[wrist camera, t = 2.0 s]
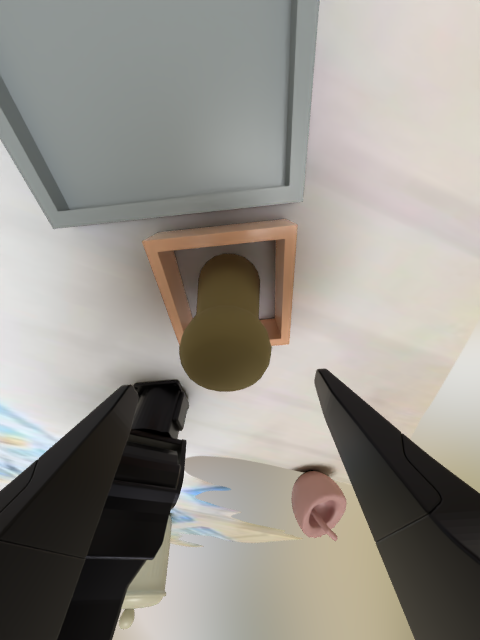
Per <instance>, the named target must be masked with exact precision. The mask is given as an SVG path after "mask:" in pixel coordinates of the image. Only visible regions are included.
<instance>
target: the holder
mask: <svg viewBox="0 0 480 640" xmlns="http://www.w3.org/2000/svg"><path fill="white" fill-rule="evenodd" d="M297 226H298V225H297V224H295V223H293V222H291V221H289V220H287V219H278V220H269V221H259V222H250V223H241V224H231V225H222V226H212V227H203V228H194V229H184V230H175V231H166V232H158V233H156V234H155V235H153V236H151V237H149V238H147V239H145V240H143V241H142V243H143V246H144V249H145V251H146V254H147V257H148V260H149V262H150V265H151V268H152V271H153V273H154V276H155V279H156V282H157V284H158V287H159V290H160V293H161V295H162V298H163V301H164V304H165V306H166V309H167V312H168V315H169V317H170V320H171V323H172V326H173V328H174V331H175V334H176V337H177V340H178V342H179V345H180V342H181V338H182V335H183V332H184V330H185V328H186V327H187V326H188V324H189V323H190V322H191V320H192V319H193V318H192V314H191V311H190V307H189V304H188V300H187V297H186V293H185V289H184V286H183V282H182V279H181V275H180V272H179V268H178V264H177V261H176V257H175V254H174V250H182V249H192V248H202V247H211V246H221V245H231V244H240V243H250V242H260V241H269V240H276V254H275V318H274V319H263V320H260V321H261V323H262V324H263V325H264V327H265V328H266V330H267V332H268V336H269V340H270V343H271V346H274V345H286V344H289V338H290V324H291V310H292V296H293V282H294V268H295V254H296V240H297Z"/></svg>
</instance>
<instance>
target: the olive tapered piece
mask: <svg viewBox="0 0 480 640" xmlns="http://www.w3.org/2000/svg"><path fill="white" fill-rule="evenodd" d="M259 293H260V279H259V275H258V271H257V270H256V268H255V267H254V265H253V264H252V263H251V262H250V261H248V260H247V259H246V258H245V257H242V256H239V255H236V254H221V255H218V256H215V257H213V258H212V259H210V260H209V261H208V262H206V264H205V265H204V267H203V268H202V270H201V272H200V276H199V280H198V296H197V312H196V316H195V317H194V318H193V319H192V320H191V322H190V323H189V324H188V326H187V327H186V328H185V330H184V332H183V335H182V338H181V342H180V346H179V355H180V359H181V364H182V366H183V368H184V370H185V372H186V373H187V375H188V376H189V378H190V379H191V380H193V381H194V382H195V383H196V384H198V385H200V386H202V387H204V388H207V389H210V390H215V391H220V392H221V391H236V390H241V389H244V388H247V387H249V386H251V385H253V384H254V383H255V382H257V381H258V380H259V379H260V378H261V377H262V375H263V374H264V372H265V371H266V369H267V367H268V366H269V362H270V356H271V348H272V347H271V343H270V340H269V336H268V332H267V330H266V328H265V327H264V325H263V324H262V323H261V321H260V320H259Z"/></svg>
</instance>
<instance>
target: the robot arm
mask: <svg viewBox="0 0 480 640" xmlns="http://www.w3.org/2000/svg"><path fill="white" fill-rule="evenodd" d="M314 382H315V387H316V390H317V394H318V397H319V401H320V404H321V408H322V411H323V414H324V417H325V420H326V423H327V425H328V427H329V430H330V432H331V435H332V437H333V440H334V442H335V445H336V447H337V449H338V452H339V454H340V457H341V459H342V462H343V464H344V467H345V469H346V471H347V474H348V476H349V479H350V481H351V484H352V486H353V489H354V491H355V494H356V496H357V498H358V501H359V503H360V505H361V508H362V511H363V513H364V516H365V518H366V520H367V523H368V525H369V528H370V530H371V533H372V535H373V537H374V540H375V542H376V545H377V548H378V550H379V553H380V555H381V557H382V560H383V562H384V565H385V567H386V569H387V572H388V575H389V577H390V580H391V582H392V584H393V587H394V589H395V591H396V594H397V597H398V599H399V601H400V604H401V606H402V609H403V611H404V614H405V616H406V618H407V621H408V624H409V626H410V629H411V631H412V633H413V636H414V638H415V640H480V493H478V492H477V491H476V490H474V489H473V488H471V487H470V486H469V485H468V484H466V483H465V482H464V481H462V480H461V479H459V478H458V477H457V476H456V475H454V474H453V473H452V472H450V471H449V470H448V469H446V468H445V467H444V466H442V465H441V464H440V463H438V462H437V461H436V460H435V459H433V458H432V457H431V456H429V455H428V454H427V453H426V452H424V451H423V450H422V449H421V448H420V447H418V446H417V445H416V444H415V443H414V442H412V441H411V440H410V439H409V438H408V437H406V436H405V435H404V434H401V432H400V431H399V430H398V429H397V428H396V427H395V426H393V425H392V424H391V423H390V422H389V421H387V420H386V419H385V418H384V417H383V416H381V415H380V414H379V413H378V412H377V411H376V410H374V409H373V408H372V407H371V406H370V405H368V404H367V403H366V402H365V401H364V400H363V399H361V398H360V397H359V396H358V395H357V394H355V393H354V392H353V391H352V390H351V389H350V388H348V387H347V386H346V385H345V384H344V383H342V382H341V381H340V380H339V379H338V378H337V377H335V376H334V375H333V374H332V373H331V372H329V371H328V370H327V369H317V371H316V375H315V380H314ZM188 408H189V402H188V400H187V397H186V395H185V393H184V392H183V390H182V387H181V385H180V383H179V382H178V381H163V382H151V383H138V384H134V385H133V386H132V385H123V386H121V387H120V388H118V389H117V390H116V391H115V392H114V393H113V394H112V395H110V396H109V397H108V398H107V399H106V400H105V401H104V402H102V403H101V404H100V405H99V406H98V407H97V408H96V409H94V410H93V411H92V412H91V413H90V414H89V415H88V416H86V417H85V418H84V419H83V420H82V421H81V422H80V423H78V424H77V425H76V426H75V427H74V428H73V429H72V430H70V431H69V432H68V433H67V434H66V435H65V436H64V437H62V438H61V439H60V440H59V441H58V442H57V443H56V444H54V445H53V446H52V447H51V448H50V449H49V450H48V451H46V452H45V453H44V454H43V455H42V456H41V457H40V458H39V459H38V460H36V461H35V462H34V463H33V464H31V465H30V466H29V467H28V468H27V469H26V470H25V471H23V472H22V473H21V474H20V475H19V476H18V477H16V478H15V479H14V480H13V481H12V482H10V483H9V484H8V485H7V486H6V487H4V488H3V489H2V490H1V491H0V640H112V638H113V635H114V631H115V628H116V624H117V621H118V618H119V615H120V611H121V608H122V605H123V602H124V598H125V595H126V592H127V589H128V587H129V585H130V584H131V582H132V581H133V579H134V578H135V576H136V575H137V574H138V572H139V571H140V569H141V568H142V566H143V565H144V563H145V562H146V561H147V560H153V559H154V558H155V556H156V554H157V552H158V551H159V549H160V547H161V545H162V543H163V540H164V536H165V531H166V527H167V522H168V518H169V514H170V510H171V509H172V508H173V507H174V506H175V504H176V502H177V500H178V497H179V494H180V491H181V487H182V483H183V478H184V466H185V453H186V440H183V439H182V440H179V439H177V437H178V433H179V431H182V429H183V427H184V422H185V418H186V413H187V409H188Z"/></svg>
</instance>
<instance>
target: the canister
mask: <svg viewBox="0 0 480 640" xmlns="http://www.w3.org/2000/svg"><path fill="white" fill-rule="evenodd" d="M171 526H172V522H171V517H170V515H169V518H168V522H167V527H166V531H165V536H164V540H163V543H162V545H161V547H160V549H159V551H158V552H157V554H156V556H155V558H154V559H153V560H147V561H146V562H145V563H144V565H143V566H142V568H141V569H140V571H139V572H138V574H137V575H136V576H135V578H134V579H133V581H132V582H131V584H130V585H129V587H128V589H127V592H126V595H125V598H124V602H123V605H122V608H121V609H125V610H124V612H123V613H122V616H121V617H120V620H119V626H120V628H121V629H127V628H129V627H130V626H131V625H132V623H133V620H134V609H135V608H143V607H149V606H153V605H156V604H158V603H159V602H160V601H161V600H162V598H163V596H166V592H165V583H166V575H167V565H168V556H169V547H170V537H171Z"/></svg>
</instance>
